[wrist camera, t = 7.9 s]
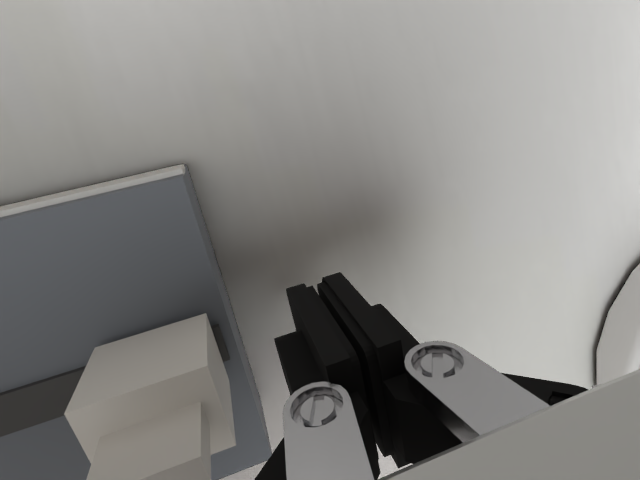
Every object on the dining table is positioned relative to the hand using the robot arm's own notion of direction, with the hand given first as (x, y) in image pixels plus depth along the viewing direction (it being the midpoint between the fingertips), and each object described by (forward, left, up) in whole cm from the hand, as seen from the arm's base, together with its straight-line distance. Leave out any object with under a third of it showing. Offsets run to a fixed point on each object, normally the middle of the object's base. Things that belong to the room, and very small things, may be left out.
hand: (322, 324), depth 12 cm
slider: (-5, 0, -1) cm, 5 cm away
